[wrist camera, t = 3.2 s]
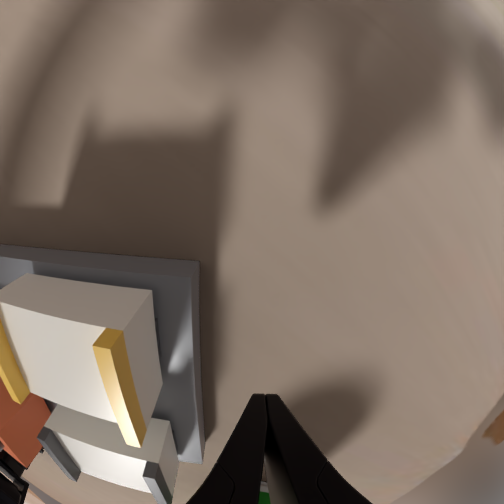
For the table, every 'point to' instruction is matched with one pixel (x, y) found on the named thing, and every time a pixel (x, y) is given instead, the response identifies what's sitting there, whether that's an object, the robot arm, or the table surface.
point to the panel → (165, 314)
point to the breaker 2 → (112, 452)
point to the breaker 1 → (82, 349)
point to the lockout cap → (21, 425)
